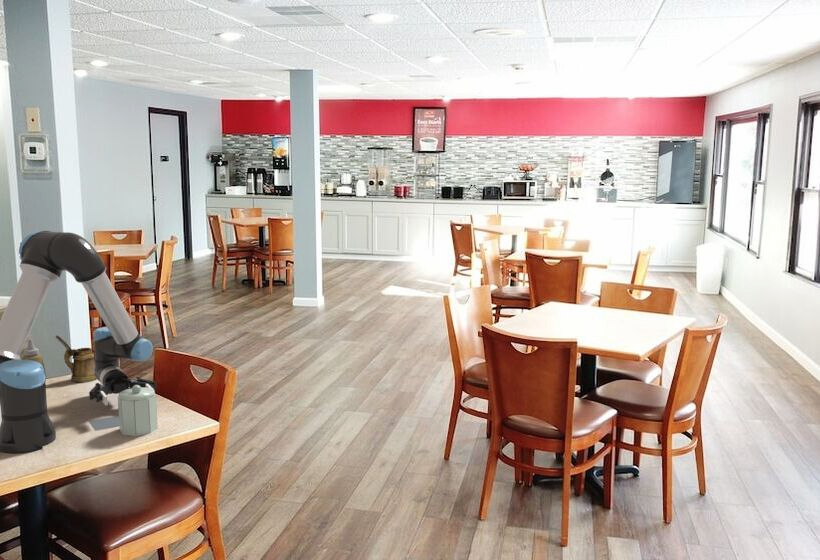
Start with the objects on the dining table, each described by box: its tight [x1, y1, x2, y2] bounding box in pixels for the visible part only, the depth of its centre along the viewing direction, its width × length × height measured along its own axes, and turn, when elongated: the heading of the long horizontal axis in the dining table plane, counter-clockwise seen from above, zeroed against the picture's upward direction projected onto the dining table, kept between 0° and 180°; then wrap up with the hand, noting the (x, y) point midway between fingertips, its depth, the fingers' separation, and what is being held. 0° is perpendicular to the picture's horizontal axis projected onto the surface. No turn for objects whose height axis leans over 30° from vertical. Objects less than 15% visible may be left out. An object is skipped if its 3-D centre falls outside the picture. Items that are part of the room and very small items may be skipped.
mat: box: [88, 415, 120, 431], centre depth 225 cm, size 10×10×1 cm
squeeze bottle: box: [21, 338, 47, 382], centre depth 258 cm, size 8×8×18 cm
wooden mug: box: [55, 335, 97, 383], centre depth 269 cm, size 9×14×18 cm, turn 131°
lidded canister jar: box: [117, 385, 159, 437], centre depth 218 cm, size 10×10×14 cm
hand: (129, 397), depth 225 cm, fingers open, 13 cm apart
